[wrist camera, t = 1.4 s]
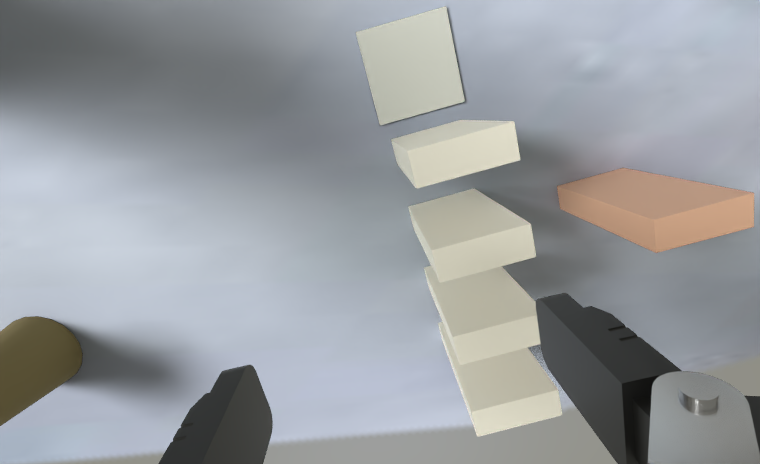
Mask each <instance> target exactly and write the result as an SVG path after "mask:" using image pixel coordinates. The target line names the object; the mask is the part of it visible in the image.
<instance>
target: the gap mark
mask: <svg viewBox="0 0 760 464" xmlns="http://www.w3.org/2000/svg"><path fill="white" fill-rule="evenodd" d="M356 36H357V40H358V44H359V47H360V51H361V55H362V59H363V63H364V66H365V70H366V74H367V78H368V82H369V86H370V89H371V93H372V97H373V101H374V105H375V109H376V112H377V116H378V120H379V124H380V125H384V124H387V123H391V122H394V121H398V120H401V119H405V118H408V117H412V116H416V115H419V114H423V113H426V112H430V111H433V110H437V109H440V108H444V107H447V106H451V105H455V104H458V103H462V102H465V100H464V95H463V90H462V85H461V80H460V74H459V69H458V64H457V59H456V54H455V49H454V44H453V39H452V34H451V29H450V24H449V19H448V14H447V8H446V6H445V7H441V8H438V9H434V10H431V11H428V12H424V13H421V14H417V15H414V16H410V17H407V18H403V19H400V20H397V21H393V22H390V23H386V24H383V25H379V26H376V27H372V28H369V29H365V30H362V31H359V32H356Z"/></svg>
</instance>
